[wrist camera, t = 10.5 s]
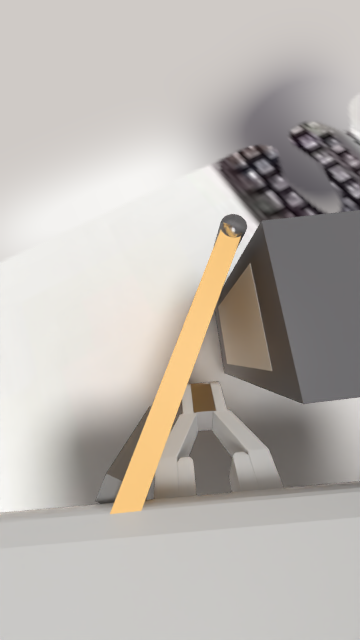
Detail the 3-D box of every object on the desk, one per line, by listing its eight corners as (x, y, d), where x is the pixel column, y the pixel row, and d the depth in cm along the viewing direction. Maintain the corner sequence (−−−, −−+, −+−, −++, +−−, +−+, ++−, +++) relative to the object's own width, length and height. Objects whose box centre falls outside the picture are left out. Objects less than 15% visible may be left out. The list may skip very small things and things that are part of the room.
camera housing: (344, 358, 15) (698, 364, 5) (224, 373, 15) (317, 409, 5) (321, 275, 17) (554, 140, 6) (211, 287, 17) (260, 170, 6)
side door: (164, 423, 14) (135, 538, 5) (146, 415, 14) (86, 514, 5) (212, 295, 16) (250, 218, 7) (195, 289, 16) (212, 207, 7)
